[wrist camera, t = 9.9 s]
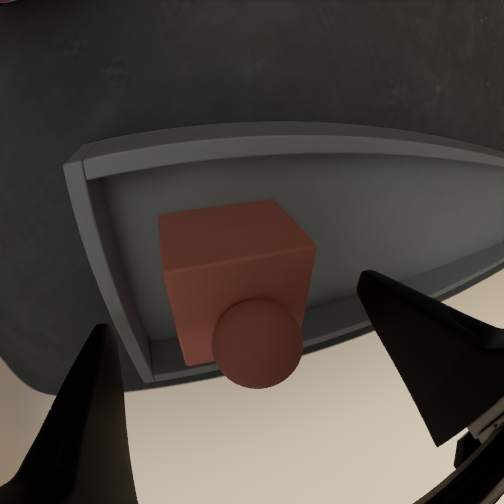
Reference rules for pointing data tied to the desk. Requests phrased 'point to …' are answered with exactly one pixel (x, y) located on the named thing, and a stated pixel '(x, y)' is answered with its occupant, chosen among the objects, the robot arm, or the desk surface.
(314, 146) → the tray
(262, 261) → the red knobbed block
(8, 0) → the pill bottle
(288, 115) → the desk surface
